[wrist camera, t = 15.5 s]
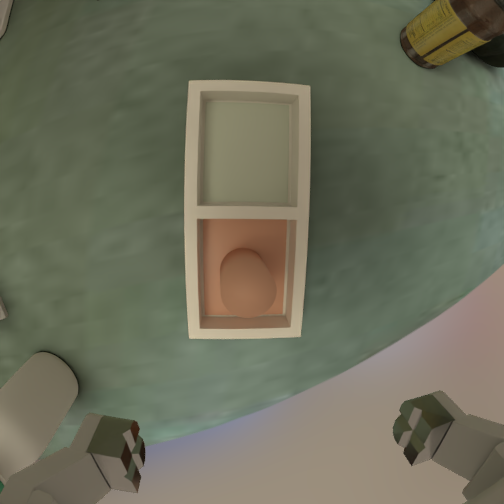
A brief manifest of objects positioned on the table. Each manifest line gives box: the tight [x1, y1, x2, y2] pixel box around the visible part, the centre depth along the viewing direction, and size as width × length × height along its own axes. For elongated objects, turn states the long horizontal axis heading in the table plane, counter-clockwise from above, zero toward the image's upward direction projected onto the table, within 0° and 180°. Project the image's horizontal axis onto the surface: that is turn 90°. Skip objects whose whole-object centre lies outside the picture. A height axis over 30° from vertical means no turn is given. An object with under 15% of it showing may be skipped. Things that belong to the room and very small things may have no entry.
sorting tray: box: [184, 80, 311, 339], centre depth 25 cm, size 22×10×4 cm, turn 179°
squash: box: [472, 33, 504, 67], centre depth 18 cm, size 14×15×15 cm
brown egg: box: [220, 248, 277, 318], centre depth 24 cm, size 4×4×6 cm
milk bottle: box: [0, 352, 78, 494], centre depth 19 cm, size 8×8×20 cm
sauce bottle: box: [401, 0, 504, 68], centre depth 15 cm, size 6×6×20 cm
